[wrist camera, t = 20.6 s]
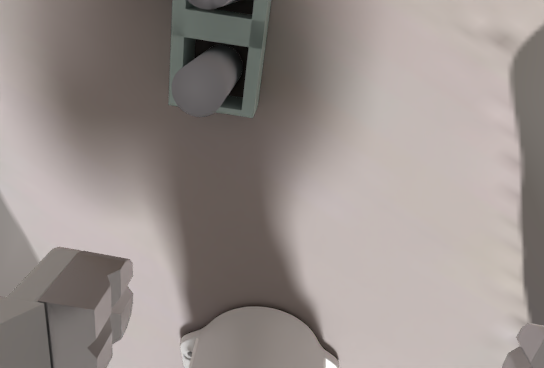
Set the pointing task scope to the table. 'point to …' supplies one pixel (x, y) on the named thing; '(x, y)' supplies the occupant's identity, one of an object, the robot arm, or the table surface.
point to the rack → (216, 58)
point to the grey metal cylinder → (210, 3)
